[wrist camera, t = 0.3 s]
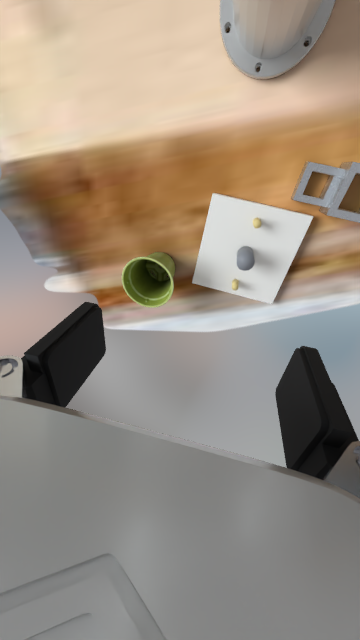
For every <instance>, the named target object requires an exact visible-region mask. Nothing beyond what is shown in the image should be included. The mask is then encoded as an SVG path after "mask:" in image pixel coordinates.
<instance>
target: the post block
mask: <svg viewBox="0 0 360 640" xmlns="http://www.w3.org/2000/svg"><path fill="white" fill-rule="evenodd" d="M312 219H313V216H312V215H308V214H304V213H300V212H295V211H291V210H287V209H282V208H278V207H274V206H269V205H265V204H261V203H257V202H252V201H248V200H244V199H239V198H235V197H231V196H226V195H222V194H218V193H213V194H212V199H211V203H210V207H209V212H208V216H207V220H206V225H205V229H204V233H203V238H202V242H201V246H200V251H199V255H198V259H197V263H196V268H195V272H194V276H193V281H192V283H194V284H197V285H201V286H205V287H209V288H213V289H216V290H220V291H224V292H228V293H231V294H235V295H239V296H243V297H247V298H250V299H254V300H258V301H262V302H265V303H269V304H272V303H273V301H274V299H275V297H276V295H277V292H278V290H279V288H280V286H281V284H282V282H283V280H284V278H285V276H286V274H287V271H288V269H289V267H290V265H291V263H292V261H293V259H294V257H295V255H296V253H297V250H298V248H299V246H300V244H301V242H302V240H303V238H304V236H305V234H306V231H307V229H308V227H309V225H310V223H311V221H312Z"/></svg>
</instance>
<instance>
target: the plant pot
mask: <svg viewBox="0 0 360 640" xmlns="http://www.w3.org/2000/svg"><path fill="white" fill-rule="evenodd" d="M159 266H161V269H160V268H159ZM151 271H152V272H153V273H154V274H155V276H154V275H153V274H152V273H151ZM174 273H175V264H174V261H173V260H172V258H171V257H170V256H169V255H167V254H165V253H161V252H155V253H153V254H151V255H149V256H147V257H138V258H135V259H133V260H131V261H130V262H128V263H127V265H126V266H125V267H124V269H123V273H122V284H123V287H124V289H125V291H126V293H127V295H128V296H129V297H130V298H131V299H132V300H133V301H135V302H136V303H138V304H139V305H142V306H145V307H159V306H162V305H163V304H165V303H166V302H167V301H168V300H169V299H170V297H171V296H172V293H173V289H174V282H173V276H174ZM168 274H169V277H166V276H167V275H168Z"/></svg>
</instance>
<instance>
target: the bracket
mask: <svg viewBox="0 0 360 640" xmlns="http://www.w3.org/2000/svg"><path fill="white" fill-rule="evenodd" d="M312 172H317V173H322V174H326V175H330V176H329V178H328V180H327V182H326V184H325V187H324V189H323V191H322V193H321V195H320V197H319V198H318V197H313V196H309V195H304V194H303V192H304V190H305V187H306V185H307V183H308V180H309V178H310V176H311V173H312ZM355 175H360V163H356V162H344V163H342V164H341V166H340V168H336V167H331V166H326V165H322V164H317V163H312V162H305V164H304V167H303V169H302V172H301V174H300V176H299V179H298V181H297V184H296V186H295V189H294V191H293V194H292V196H291V199H292V200H296V201H301V202H305V203H309V204H314V205H318V206H321V207H320V209H319V211H320V212H322V213H324V214H325V215H329V216H333V217H337V218H342V219H346V220H350V221H355V222H359V223H360V209H359V211H358V212H355V211H351V210H346V209H342V208H338V207H339V205H340V203H341V201H342V199H343V197H344V195H345V194H346V192H347V190H348V188H349V186H350V184H351V182H352V180H353V178H354V176H355Z"/></svg>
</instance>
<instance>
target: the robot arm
mask: <svg viewBox="0 0 360 640" xmlns="http://www.w3.org/2000/svg"><path fill="white" fill-rule="evenodd" d="M335 1H336V0H220V27H221V34H222V38H223V43H224V46H225V49H226V51H227V54H228V56H229V58H230V59H231V61H232V63H233V64H234V66H235V67H237V68H238V69H239V70H240V71H241V72H242V73H244V74H245V75H247V76H249V77H252V78H256V79H269V78H273V77H277V76H279V75H281V74H283V73H285V72H287V71H289V70H290V69H291V68H293V67H294V66H295V65H297V64H298V63H299V62H300V61H301V60H302V59H303V58H304V57H305V56H306V55H307V54H308V52H309V51H310V50H311V48H312V47H313V46H314V44H315V43H316V42H317V40H318V38H319V36H320V35H321V33H322V32H323V30H324V28H325V26H326V24H327V21H328V19H329V17H330V15H331V12H332V10H333V7H334V4H335ZM228 28H229V29H230V32H229V33H226V30H227V29H228ZM305 42H308V46H307V47H305V46H304V43H305ZM258 67H259V68H260V71H259V72H256V69H257V68H258ZM105 351H106V347H105V337H104V328H103V318H102V310H101V308H99V306H98V305H97V304H94V303H89V302H85V303H83V304H82V305H81V306H80V307H79V308H77V309H76V310H75V311H74V312H72V313H71V314H70V315H69V316H68V317H67V318H66V319H64V320H63V321H62V322H61V323H59V324H58V325H57V326H56V327H55V328H53V329H52V330H51V331H50V332H49V333H47V335H45V336H44V337H43V338H42V339H40V340H39V341H38V342H37V343H36V344H35V345H33V346H32V347H31V348H30V349H28V350H27V351H26V352H25V353H24V354H25V356H24V357H23V358H21V359H20V358H19V357H16V356H2V357H0V640H360V441H359V440H358V438H357V436H356V433H355V431H354V429H353V426H352V424H351V422H350V420H349V417H348V415H347V413H346V410H345V408H344V406H343V404H342V401H341V399H340V397H339V394H338V392H337V390H336V388H335V386H334V384H333V383H331V380H330V378H329V376H328V373H327V371H326V369H325V366H324V364H323V362H322V360H321V357H320V355H319V352H318V350H317V349H315V348H310V347H305V346H302V347H300V349H299V348H297V349H296V350H295V351H294V354H293V355H292V358H291V359H290V362H289V364H288V366H287V368H286V370H285V372H284V374H283V376H282V378H281V380H280V382H279V384H278V386H277V388H276V401H277V408H278V415H279V421H280V427H281V433H282V440H283V447H284V453H285V459H286V465H287V468H285V467H281V466H277V465H274V464H270V463H267V462H264V461H261V460H257V459H254V458H250V457H246V456H243V455H239V454H235V453H232V452H228V451H225V450H221V449H218V448H214V447H210V446H207V445H203V444H199V443H196V442H191V441H188V440H185V439H181V438H177V437H173V436H170V435H166V434H163V433H158V432H155V431H151V430H148V429H144V428H140V427H136V426H133V425H129V424H125V423H121V422H118V421H114V420H110V419H106V418H103V417H99V416H95V415H91V414H87V413H83V412H79V411H76V410H72V409H68V408H65V407H66V406H67V405H68V403H69V402H70V400H71V399H72V398H73V396H74V395H75V394H76V392H77V391H78V390H79V388H80V387H81V386H82V384H83V383H84V382H85V380H86V379H87V377H88V376H89V375H90V374H91V372H92V371H93V369H94V368H95V367H96V365H97V364H98V363H99V361H100V360H101V359H102V357H103V356H104V354H105Z"/></svg>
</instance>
